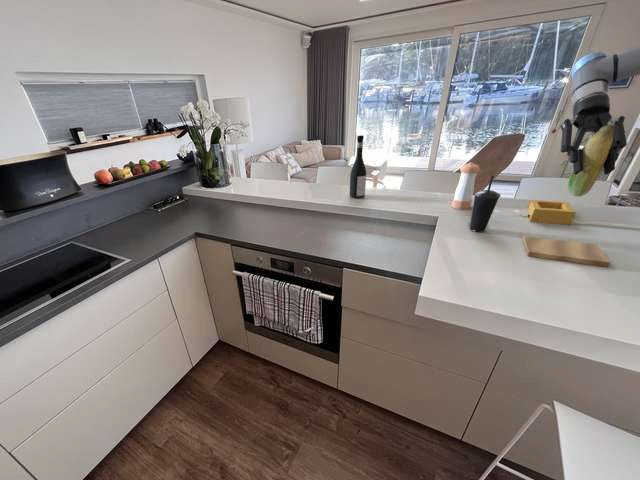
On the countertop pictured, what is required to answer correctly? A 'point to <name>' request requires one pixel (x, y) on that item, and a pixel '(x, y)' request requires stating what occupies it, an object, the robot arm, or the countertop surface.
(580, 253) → the board
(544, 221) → the stand
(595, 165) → the vegetable
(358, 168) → the wine bottle
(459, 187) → the pepper shaker
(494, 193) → the drinking cup
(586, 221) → the countertop surface
